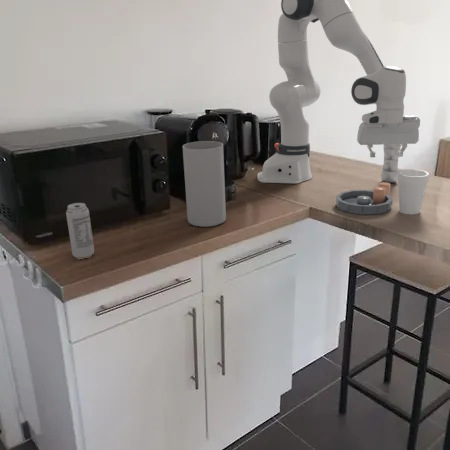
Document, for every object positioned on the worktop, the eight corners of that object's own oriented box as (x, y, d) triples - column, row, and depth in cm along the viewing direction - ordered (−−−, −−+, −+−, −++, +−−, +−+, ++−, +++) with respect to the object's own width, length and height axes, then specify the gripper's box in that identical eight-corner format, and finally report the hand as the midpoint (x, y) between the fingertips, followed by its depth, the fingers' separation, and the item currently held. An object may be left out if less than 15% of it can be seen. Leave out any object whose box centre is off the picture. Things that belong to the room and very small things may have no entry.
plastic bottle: (395, 179, 203) (400, 129, 195) (399, 184, 196) (404, 132, 189) (379, 179, 203) (382, 129, 196) (382, 184, 197) (386, 132, 190)
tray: (341, 215, 166) (342, 206, 165) (332, 198, 183) (333, 190, 182) (397, 214, 166) (398, 205, 164) (383, 197, 182) (384, 189, 181)
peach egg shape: (386, 204, 172) (387, 190, 170) (374, 204, 172) (375, 190, 170) (383, 200, 176) (384, 186, 174) (371, 201, 176) (372, 187, 174)
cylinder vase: (233, 222, 165) (230, 145, 156) (199, 230, 159) (195, 151, 150) (213, 211, 175) (209, 139, 166) (181, 219, 168) (175, 144, 160)
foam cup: (425, 217, 162) (429, 177, 158) (394, 215, 165) (398, 176, 160) (423, 207, 171) (427, 169, 166) (394, 205, 173) (397, 168, 169)
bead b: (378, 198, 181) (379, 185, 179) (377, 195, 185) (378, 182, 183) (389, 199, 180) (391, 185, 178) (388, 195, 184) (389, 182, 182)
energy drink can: (91, 249, 148) (84, 200, 142) (97, 256, 143) (90, 206, 137) (70, 254, 145) (62, 204, 139) (76, 262, 140) (68, 210, 135)
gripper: (417, 114, 175) (413, 153, 180) (357, 115, 175) (355, 155, 180) (423, 117, 169) (419, 158, 174) (361, 118, 170) (358, 159, 175)
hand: (386, 156), depth 177 cm, fingers open, 8 cm apart
